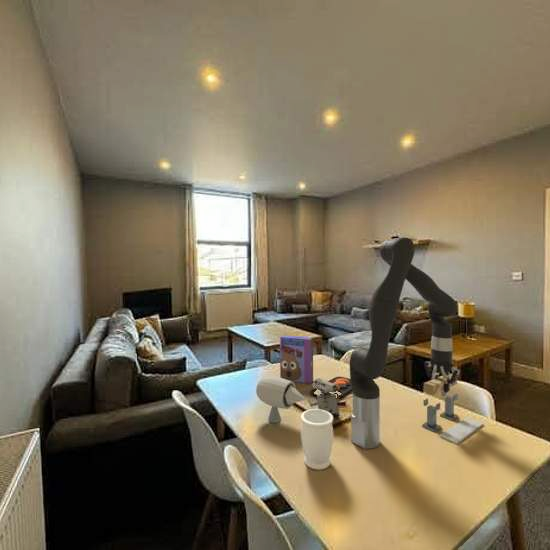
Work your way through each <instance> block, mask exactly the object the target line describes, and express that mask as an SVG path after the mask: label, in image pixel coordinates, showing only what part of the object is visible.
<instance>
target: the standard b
mask: <svg viewBox="0 0 550 550" xmlns="http://www.w3.org/2000/svg"><path fill="white" fill-rule="evenodd" d="M458 395H459V394H457V393H455V394H453V397H452V396H449V395H448V396H447V393H444V390H443V391H441V397H443V398H444V397H445V398H444V412H442V413H440V414H439V416H440V418H441V417H442V418H443V419H447V420H449V421H451V422H454V421H455V420H457V419H458V418H459V417H460V416H459V414H456V413H455V401H457V400H459V399H458V398H459V397H458Z"/></svg>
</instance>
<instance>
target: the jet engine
mask: <svg viewBox="0 0 550 550" xmlns="http://www.w3.org/2000/svg"><path fill="white" fill-rule="evenodd" d="M255 390H256V392H255V393H256V396H257V398H258V399H259V400H260V401H261V402H263V403H264V404H265V405H268V406H270V407H271V408H270V411H269V414H268V417H267V421H268V422H270V423H279V422H281V421H282V417H281V415H280V411H279V409H282V410H283V409H284V410H289V409H291V407H293V405H294V404H296V403H298V402H302V401H303V400H306V398H305V397H304V396H303V395H302V394H301V393H300V392H299V391H298V390H297V386H296V384H295V382H292V381H289V380H286V379H283V378H280V376H264V377H262V378H261V379H260V380H259V381H258V382H257V385H256V389H255Z"/></svg>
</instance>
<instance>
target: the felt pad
mask: <svg viewBox="0 0 550 550" xmlns="http://www.w3.org/2000/svg"><path fill="white" fill-rule="evenodd" d="M483 426H484V423H483V422H481V421H479V420H475V419H473V418H470V417H465V418H463V419H462V420H460V421H459V422H457V423H456V424H455V425H453V426H451V427H450V428H448V429H447V430H445V431H444V432H442V433H440V434H439V438H442V439H444V440H446V441H448V442H451V443H453V444H455V445H458V444H459V443H461V442H462V441H463V440H465V439H466V438H468V437H469V436H470V435H472V434H473V433H474V432H476V431H477V430H479V429H480V428H481V427H483Z"/></svg>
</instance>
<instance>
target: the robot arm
mask: <svg viewBox="0 0 550 550" xmlns="http://www.w3.org/2000/svg"><path fill="white" fill-rule="evenodd" d="M379 255H380V257H381V258H382V260H383V261H384V262H385V263H386V264H387V265H388V266H389V269H388V272H387V274H386V276H385V277H384V278H383V279H382V281H381V282H380V283H379V284H378V286H377V287H376V289H375V290H374V292H373V294H372V297H371V300H370V303H369V306H368V307H369V308H368V320H369V324H370V330H371V338H370V344H369V346H368V347H369V348H365V347H361V346H360V347H357V348H355V349H354V350H353V351H352V353H350V358H349V379H350V382H351V386H352V388H353V389H352V393H353V394H352V415H350V441H351V442H352V443H353V444H354V445H357V446H358V447H360V448H362V449H363V450H368V449H376V448H377V447H379V445H380V440H381V438H380V434H381V431H380V430H381V429H380V428H381V427H380V426H381V425H380V423H381V422H380V421H381V420H380V417H381V416H380V414H381V411H380V407H381V403H380V402H381V399H380V397H381V396H380V394H381V392H380V387H379V385H378V384H377V382H376V381H375V380H378V378H380V377H381V376H382V374H383V372H384V370H385V368H386V362H387V356H388V349H389V344H390V339H391V334H392V329H393V326H394V321H395V318H396V315H397V312H398V308H399V307H398V306H399V302H400V299H401V298H400V297H401V295H402V291H403V289H404V285H405V281H407V282H408V283H409V284H410V285H411V286H412V287H413V289H415V291H416V292H417V293H418V295H420V297H421V298H422V299H423V300H424V301H426V302H428V303H427V311H428V314H429V315H428V316H429V319H430V322H431V339H430V361H427V360H426V361H423V366H424V370H425V373H426V376H427V377H428V378H430V379H431V380H433V379H435V378H438V377H439V375H440V374H441V376H443V378H444V390H443V391H444V393H446V394H447V393H449V392H450V391H451V390H450V388H451V387H450V384H452V383H454V382H455V381H456V379H457V380H458V377H459V375H460V373H461V370H460V369H459V368H458V369H457V368H456V367H454V364H453V347H454V346H453V345H454V344H453V325H452V324H451V322H449V321H448V320H446V319H445V317H453V316H454V315H456V314H457V312H458V305H457V302H456V300H455V299H454V298H453V297H452V296H450V295H449V294H448V293H446V291H444V290H443V289H441V288H440V287H439V286H438V284H437V283H436V282H435V281H434V279H433V278H432V277H430V275H428V274H427V273H426V272H424V271H423V270H421V269H420V268H418V267H416V266H415V265H414V264H412V262H413V259H414V255H415V244H414V241H413V240H412V239H411V238H410V237H405V236H404V237H397V238H396V237H395V238H390V239H387V240H384V241H383V242H382V243H381V244H380V246H379ZM450 372H451V373H450ZM450 374H453V375H452V377H451V379H450Z"/></svg>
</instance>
